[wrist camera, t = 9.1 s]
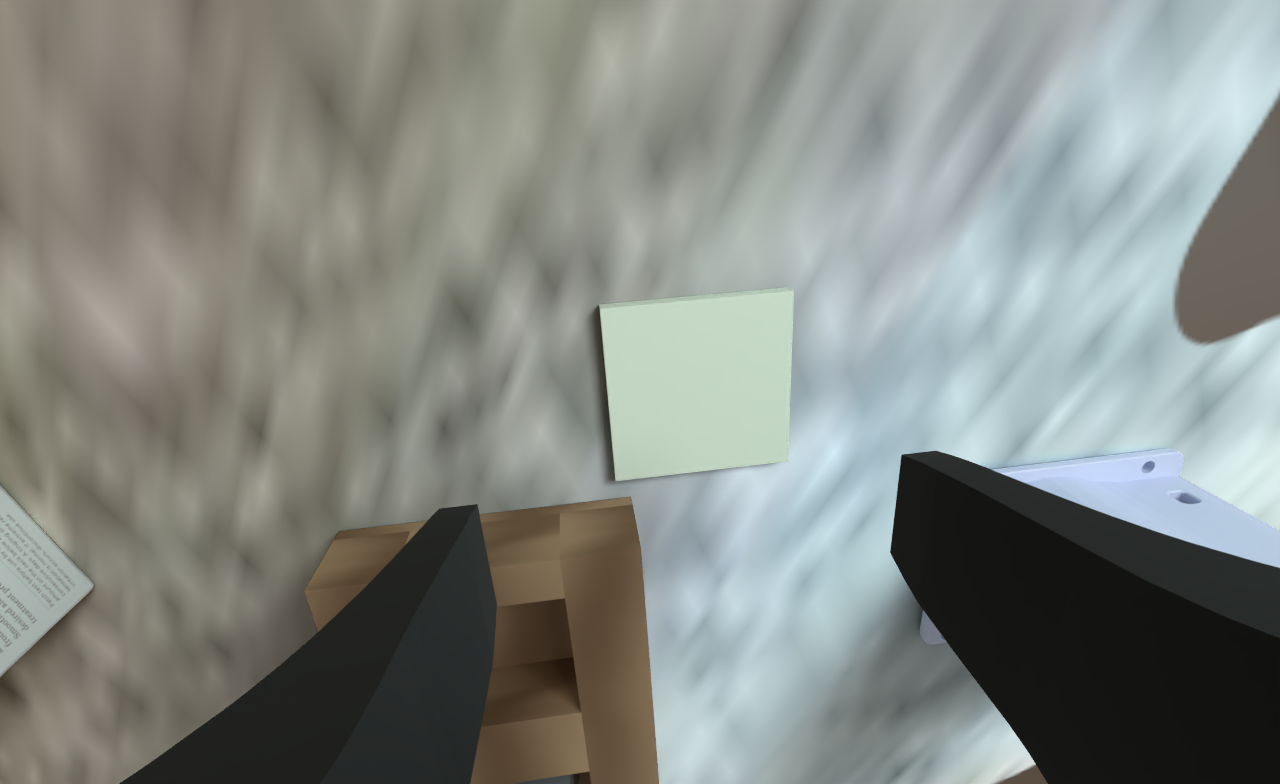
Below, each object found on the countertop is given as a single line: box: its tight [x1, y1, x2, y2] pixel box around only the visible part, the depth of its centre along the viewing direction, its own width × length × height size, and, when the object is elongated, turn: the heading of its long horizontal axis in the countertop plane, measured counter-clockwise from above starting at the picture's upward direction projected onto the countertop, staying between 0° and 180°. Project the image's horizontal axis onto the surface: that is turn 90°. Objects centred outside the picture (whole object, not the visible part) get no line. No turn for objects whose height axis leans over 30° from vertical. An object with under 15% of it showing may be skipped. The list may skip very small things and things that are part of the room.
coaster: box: [599, 287, 794, 481], centre depth 20 cm, size 6×6×1 cm
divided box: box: [304, 497, 659, 784], centre depth 23 cm, size 10×16×3 cm, turn 4°
